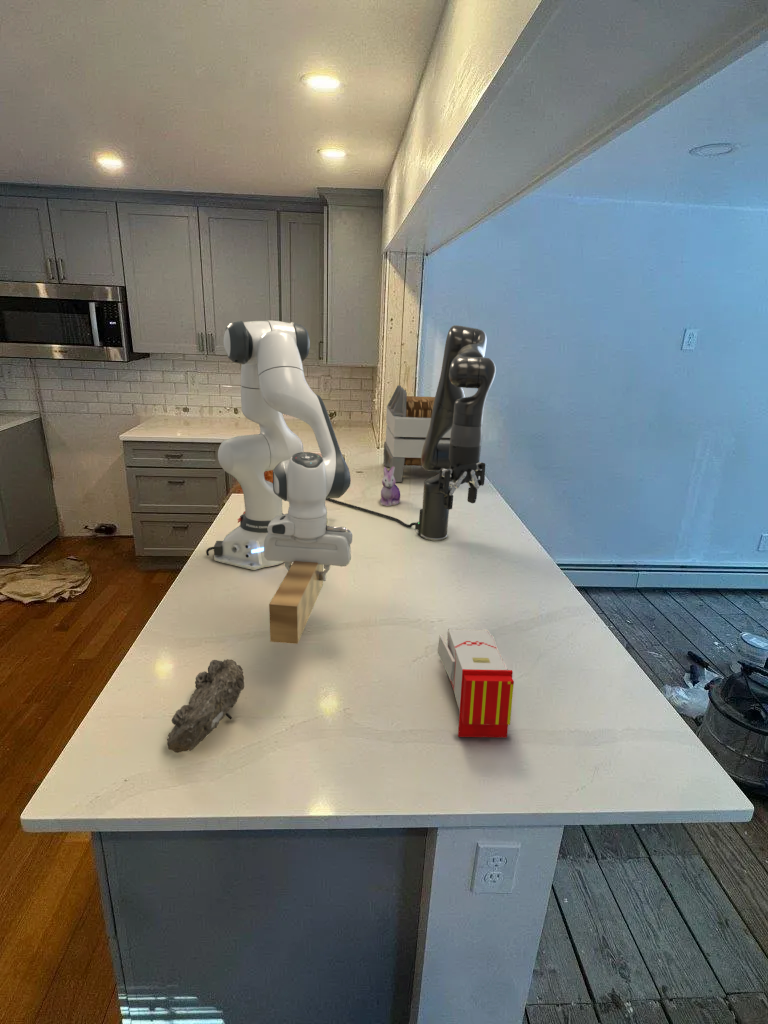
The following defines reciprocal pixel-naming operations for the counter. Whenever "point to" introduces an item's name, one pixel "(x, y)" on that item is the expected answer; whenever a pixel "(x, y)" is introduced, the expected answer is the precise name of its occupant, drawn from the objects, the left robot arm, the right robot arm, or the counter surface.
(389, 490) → the figurine
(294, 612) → the bar
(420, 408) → the grey wooden crate
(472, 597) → the counter surface
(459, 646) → the toy
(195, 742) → the fossil
